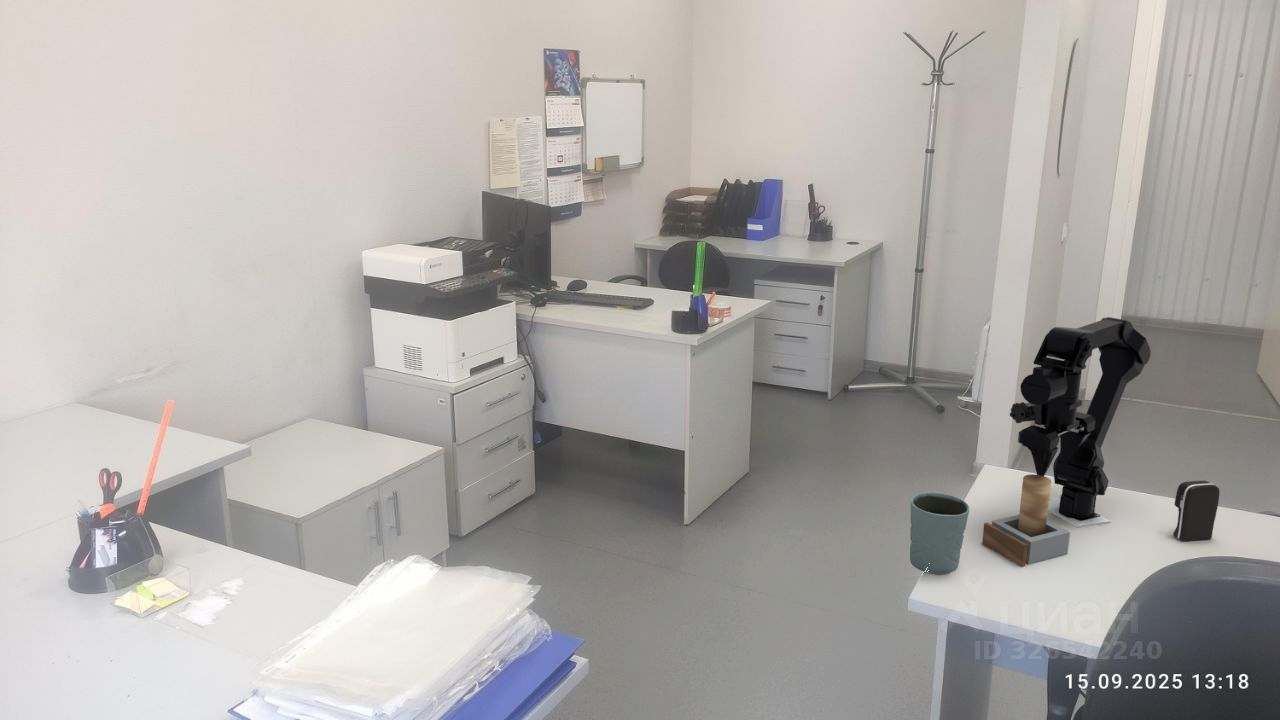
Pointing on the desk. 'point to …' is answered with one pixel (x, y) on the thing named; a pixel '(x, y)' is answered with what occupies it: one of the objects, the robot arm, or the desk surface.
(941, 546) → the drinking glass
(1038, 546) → the socket block
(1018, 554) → the backstop wall
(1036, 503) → the oak dowel
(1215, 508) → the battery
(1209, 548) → the desk surface
